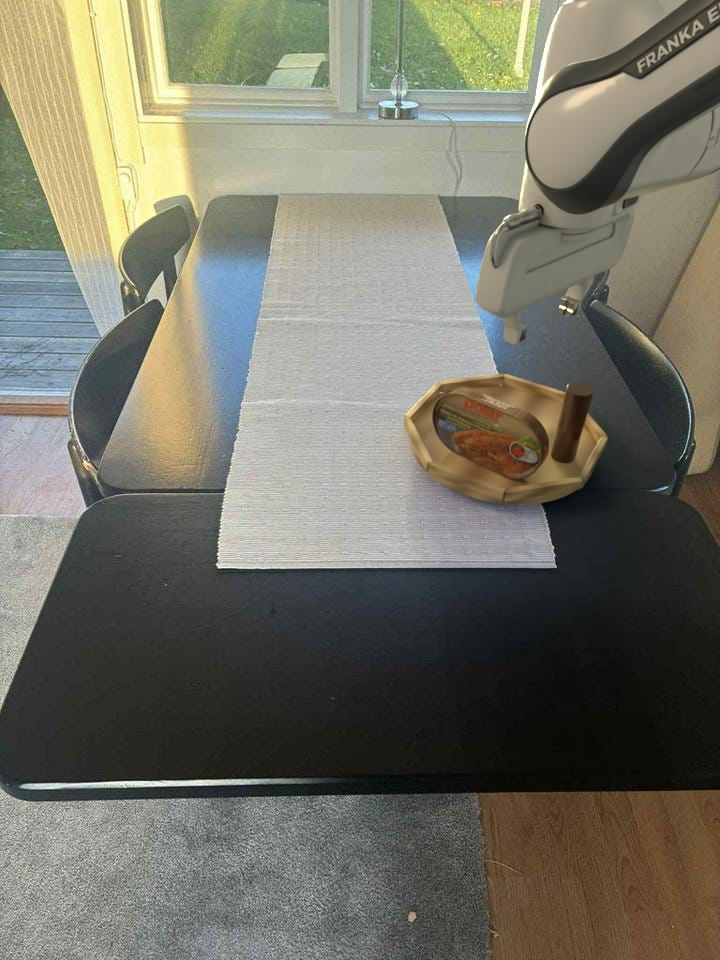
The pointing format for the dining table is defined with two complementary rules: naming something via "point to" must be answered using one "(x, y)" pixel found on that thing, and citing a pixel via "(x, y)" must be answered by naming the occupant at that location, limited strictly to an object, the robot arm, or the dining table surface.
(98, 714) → the dining table surface
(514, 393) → the tray
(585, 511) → the dining table surface
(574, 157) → the robot arm
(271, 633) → the dining table surface
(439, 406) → the tin
